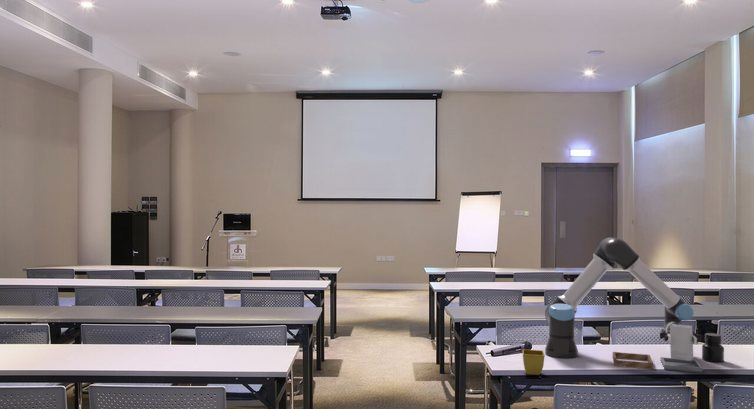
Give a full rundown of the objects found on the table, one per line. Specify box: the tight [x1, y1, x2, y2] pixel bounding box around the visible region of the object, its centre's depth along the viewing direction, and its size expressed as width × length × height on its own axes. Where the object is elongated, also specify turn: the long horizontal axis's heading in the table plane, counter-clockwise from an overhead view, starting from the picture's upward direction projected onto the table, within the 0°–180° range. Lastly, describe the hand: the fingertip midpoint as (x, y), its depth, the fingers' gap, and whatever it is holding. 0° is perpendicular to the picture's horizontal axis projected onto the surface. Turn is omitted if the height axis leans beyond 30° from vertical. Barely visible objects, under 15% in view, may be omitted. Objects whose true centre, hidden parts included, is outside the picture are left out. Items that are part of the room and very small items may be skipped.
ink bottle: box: [701, 332, 725, 363], centre depth 284 cm, size 10×9×12 cm
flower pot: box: [521, 349, 546, 376], centre depth 258 cm, size 9×9×9 cm
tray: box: [659, 356, 704, 374], centre depth 271 cm, size 15×15×2 cm
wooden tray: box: [612, 351, 654, 370], centre depth 278 cm, size 16×17×2 cm
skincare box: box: [669, 324, 694, 361], centre depth 271 cm, size 8×6×15 cm
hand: (682, 340), depth 267 cm, fingers closed on skincare box, 9 cm apart
